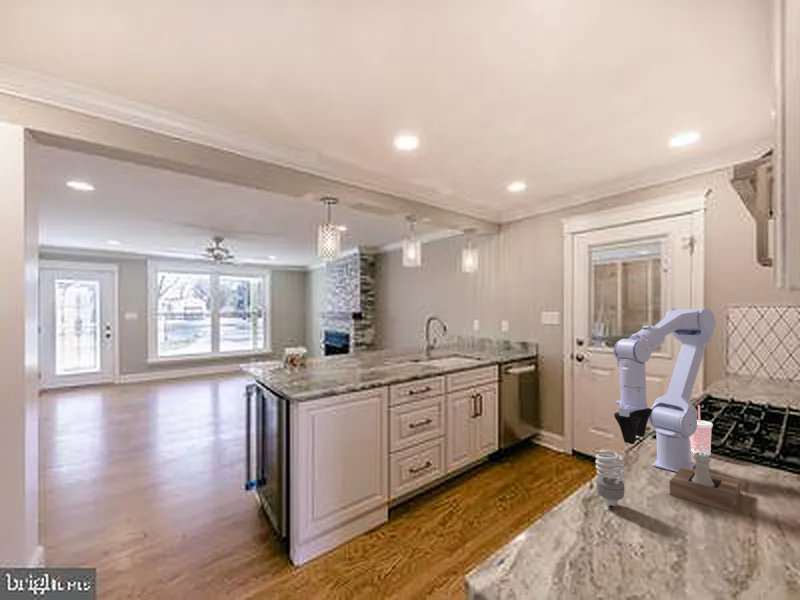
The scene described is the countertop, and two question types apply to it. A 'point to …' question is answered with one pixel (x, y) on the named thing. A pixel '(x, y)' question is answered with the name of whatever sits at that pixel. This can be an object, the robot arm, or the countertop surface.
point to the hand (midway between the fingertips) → (634, 439)
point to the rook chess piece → (702, 470)
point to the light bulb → (610, 476)
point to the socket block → (706, 489)
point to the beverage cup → (701, 436)
